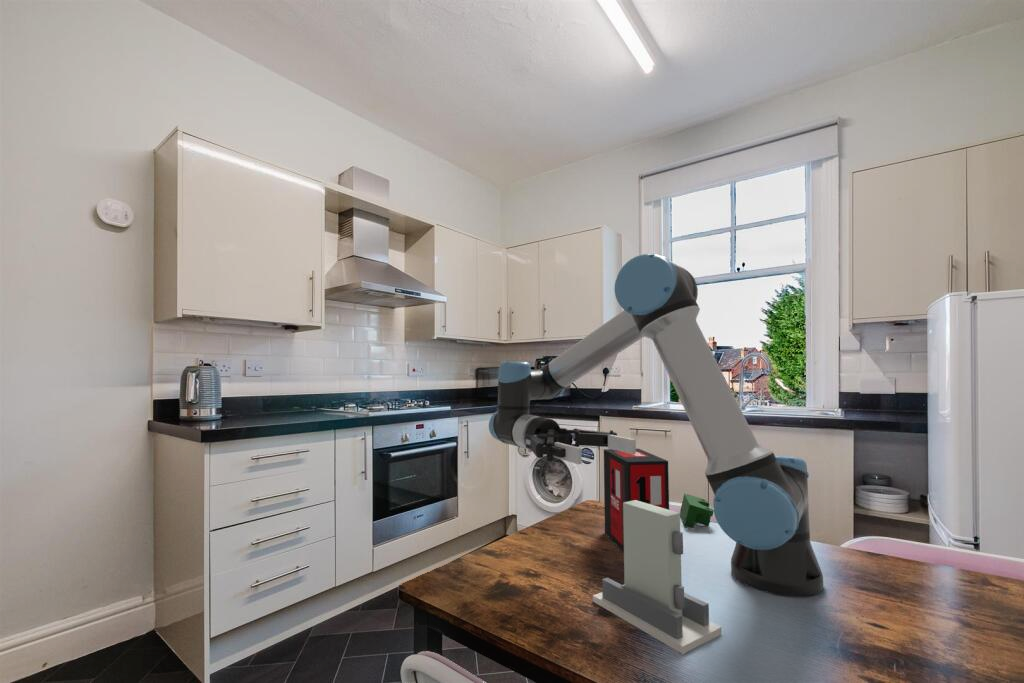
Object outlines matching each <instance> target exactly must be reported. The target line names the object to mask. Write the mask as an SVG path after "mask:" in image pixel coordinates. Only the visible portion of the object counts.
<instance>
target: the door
mask: <svg viewBox="0 0 1024 683" xmlns="http://www.w3.org/2000/svg"><path fill="white" fill-rule="evenodd" d="M623 524H624V553H623V564H624V565H623V568H624V569H623V574H624V576H623V577H624V579H623V580H624V584H625V587H627V588H629V589H631V590H633V591H635V592H637V593H639V594H641V595H643V596H645V597H647V598H649V599H651V600H653V601H655V602H657V603H659V604H661V605H663V606H665V607H667V608H669V609H671V610H672V611H674V612H676V613H678V614H680V615H682V610H683V609H685V604H684V593H685V587H684V585H683V584H682V581H683V580H682V555H683V554H684V532H682V531H681V516H680V512H679V511H678V512H677V511H674V510H671V509H669V510H668V509H664V508H661V507H658V506H654V505H651V504H647V503H644V502H641V501H637V500H633V501H629V502H624V503H623Z"/></svg>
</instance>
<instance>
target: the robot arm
mask: <svg viewBox="0 0 1024 683" xmlns="http://www.w3.org/2000/svg"><path fill="white" fill-rule="evenodd" d="M698 293H699V292H698V285H697V282H696V279H695V277H694V276H693V274H692V273H690V271H688V270H687V269H685V268H684V267H683V266H680V265H677V263H674V262H673V261H671V260H670V259H669V258H668V257H666V256H664V255H663V256H662V255H661V254H660V255H659V254H654V253H642V254H639V255H636V256H634V257H633V258H630V259H629V260H628V261H627V262H626V263H625V264H623V266H622V267H621V269H620V270H619V272H618V273H617V276H616V279H615V281H614V295H615V300H616V301H617V303H618V304H619V306H620V307H621V309H623V310H622V311H620V312H619V313H618V314H616V315H615V316H614V317H612V318H611V319H609V320H608V321H606V322H605V323H604V324H602V325H601V326H599V327H598V328H596V329H595V330H593V331H592V332H591V333H589V334H588V335H586V336H585V337H584V338H582V339H581V340H579V341H578V342H576V343H575V344H573V345H572V346H571V347H569V348H568V349H566V350H564V352H562V353H561V354H559V355H558V356H556V357H555V358H553V359H552V360H550V361H549V362H548V363H546V364H545V365H544V366H542V367H541V368H539V369H531V368H532V366H531V364H530V362H528V361H507V360H506V361H505V360H504V361H501V363H499V366H498V367H499V368H498V376H497V409H496V411H495V412H494V413H493V414H492V415H491V417H490V419H489V422H488V429H489V433H490V434H491V437H493V438H494V439H495V440H497V441H499V442H500V443H503V444H506V445H511V446H513V447H514V446H515V447H518V448H522V449H525V450H527V452H528V453H531V452H532V453H533V454H534V455H535V457H536V458H538V459H539V458H540V459H541V458H543V457H544V455H546V461H547V462H553V461H554V458H555V459H559V460H563V461H566V462H568V463H573V464H576V465H582V462H583V461H582V460H583V459H582V457H583V456H582V449H583V448H582V447H580V446H585V447H604V448H607V449H612V450H617V451H621V452H625V453H629V454H636V449H637V448H636V447H637V446H636V444H637V443H636V439H635V438H629V437H627V436H626V437H625V436H619V435H618V433H617V432H614V430H612V429H611V430H609V431H599V430H597V431H596V430H587V429H580V428H579V429H578V428H573V429H568V428H565V427H564V428H563V427H561V426H560V425H559V423H558V422H557V421H556V420H554V419H552V418H547V417H543V416H542V417H541V416H538V415H533V414H530V407H531V406H530V403H531V401H537V400H552V399H554V398H558V397H560V396H562V395H563V393H564V392H565V390H566V388H567V387H569V386H570V385H571V384H574V383H575V382H577V381H578V380H579V379H581V378H582V377H584V376H585V375H587V374H589V373H590V372H592V371H594V370H595V369H597V368H598V367H600V366H601V365H603V364H604V363H606V362H607V361H609V360H611V359H612V358H614V357H615V356H616V355H618V354H619V353H622V352H623V351H624V350H626V349H627V348H629V347H631V346H632V345H633V344H635V343H637V342H638V341H640V340H641V339H644V337H645V338H647V339H650V340H651V341H652V342H653V344H654V346H655V349H656V351H657V354H659V357H660V359H661V361H662V363H663V365H664V368H665V370H666V372H667V374H668V376H669V379H670V382H671V383H672V386H673V388H674V390H675V392H676V395H677V396H678V398H679V401H680V403H681V404H682V406H683V409H684V411H685V413H686V416H687V418H688V419H689V422H690V424H691V426H692V428H693V430H694V433H695V435H696V437H697V439H698V441H699V444H700V445H701V448H702V449H703V452H704V455H705V456H706V458H707V460H708V462H707V466H706V468H705V471H704V474H705V478H706V479H707V481H708V484H709V486H710V488H711V491H712V493H713V495H714V497H713V501H712V503H713V510H714V512H713V515H714V517H715V520H716V522H717V524H718V525H719V528H720V529H721V530H722V532H724V534H725V535H727V536H728V537H729V539H731V540H732V541H734V542H735V547H734V549H733V552H732V554H731V557H730V558H731V559H730V560H731V561H730V570H731V572H730V573H731V574H732V576H733V578H735V579H736V580H738V581H739V582H741V583H743V584H744V585H746V586H748V587H750V588H753V589H755V590H758V591H762V592H764V593H769V594H773V595H778V596H783V597H794V598H795V597H796V598H797V597H800V598H802V597H812V596H816V595H819V594H820V593H822V592H823V590H824V574H823V572H822V569H821V566H820V564H819V562H818V559H817V556H816V553H815V551H814V549H813V545H812V542H811V535H810V534H811V532H810V531H811V530H810V529H811V528H810V509H809V507H810V506H809V488H808V481H809V480H808V478H809V476H810V474H809V472H808V467H807V466H808V465H807V462H806V461H805V460H804V459H803V458H801V457H796V456H789V455H788V456H786V455H778V454H777V455H776V454H774V452H773V450H771V449H769V448H767V447H765V446H763V445H760V444H759V443H758V441H757V439H756V438H755V435H754V433H753V431H752V428H751V427H750V425H749V423H748V421H747V419H746V418H745V415H744V413H743V411H742V410H741V407H740V406H739V403H738V401H737V400H736V397H735V395H734V394H733V392H732V390H731V387H730V386H729V383H728V381H727V380H726V378H725V375H724V373H723V371H722V369H721V367H720V365H719V364H718V362H717V360H716V358H715V355H714V354H713V352H712V349H711V347H710V346H709V343H708V342H707V340H706V338H705V336H704V334H703V332H702V330H701V327H700V326H699V324H698V322H697V318H698V315H699V313H700V310H701V309H700V306H699V304H698V303H697V300H698ZM573 442H574V443H573Z"/></svg>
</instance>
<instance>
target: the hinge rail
mask: <svg viewBox="0 0 1024 683" xmlns="http://www.w3.org/2000/svg"><path fill="white" fill-rule="evenodd" d="M601 581H602V582H601V584H602V585H601V589H602V592H601V591H600V592H597V593H596V594H593V595H592V602H593V603H595V604H597V605H598V606H600V607H602V608H604V609H605V610H607V611H609V612H610V613H612V614H613V615H615V616H617V617H618V618H620V619H622V620H623V621H626V622H627V623H629V624H630V625H632V626H634V627H636V628H638V629H639V630H641V631H643V632H644V633H646V634H647V635H650V636H651V637H653V638H655V639H656V640H658V641H660V643H661V642H662V643H663V644H665V645H667V646H668V647H670V648H672V649H674V651H677V652H678V653H680V654H681V655H684V654H686V653H688V652H690V651H692V650H694V649H695V648H698V647H699V646H701V645H703V644H705V643H707V642H709V641H711V640H713V639H715V638H717V637H719V636H721V635H723V634H722V626H719V625H717V624H716V623H714V622H711V621H710V616H709V615H710V609H709V607H710V606H709V603H708V602H705V601H704V600H701V599H700V598H697V597H694V596H692V595H690V594H688V593H686V592H684V604H685V609H683V610H682V615H680V614H678V613H676V612H674V611H672V610H671V609H669V608H667V607H665V606H663V605H661V604H659V603H657V602H655V601H653V600H651V599H649V598H647V597H645V596H643V595H641V594H639V593H637V592H635V591H633V590H631V589H629V588H627V587H625V583H624V584H621V583H619V582H617V581H615V580H613V579H611V578H610V577H605V578H602V579H601Z"/></svg>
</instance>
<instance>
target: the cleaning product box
mask: <svg viewBox="0 0 1024 683" xmlns="http://www.w3.org/2000/svg"><path fill="white" fill-rule="evenodd" d="M669 480H670V478H669V460H666V459H664V458H662V457H659V456H657V455H655V454H652V453H650V452H647V451H646V450H643V449H640V448H636V454H629V453H625V452H621V451H617V450H612V449H608V448H607V449H606V448H603V490H604V492H603V493H604V498H603V499H604V500H603V501H604V507H603V508H604V534H605V533H606V534H607V535H608V536H609V537H608V536H607V535H606V534H605V535H606V536H607V537H608V538H609V539H610V540H611V541H612V542H613V543H614V544H615V546H616V545H617V546H618V547H617V546H616V547H617V548H618V549H619V550H620V551H621V552H622V554H624V524H623V503H624V502H629V501H633V500H637V501H641V502H644V503H647V504H651V505H654V506H658V507H661V508H664V509H668V510H670V488H669V486H670V485H669V484H670V483H669Z"/></svg>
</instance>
